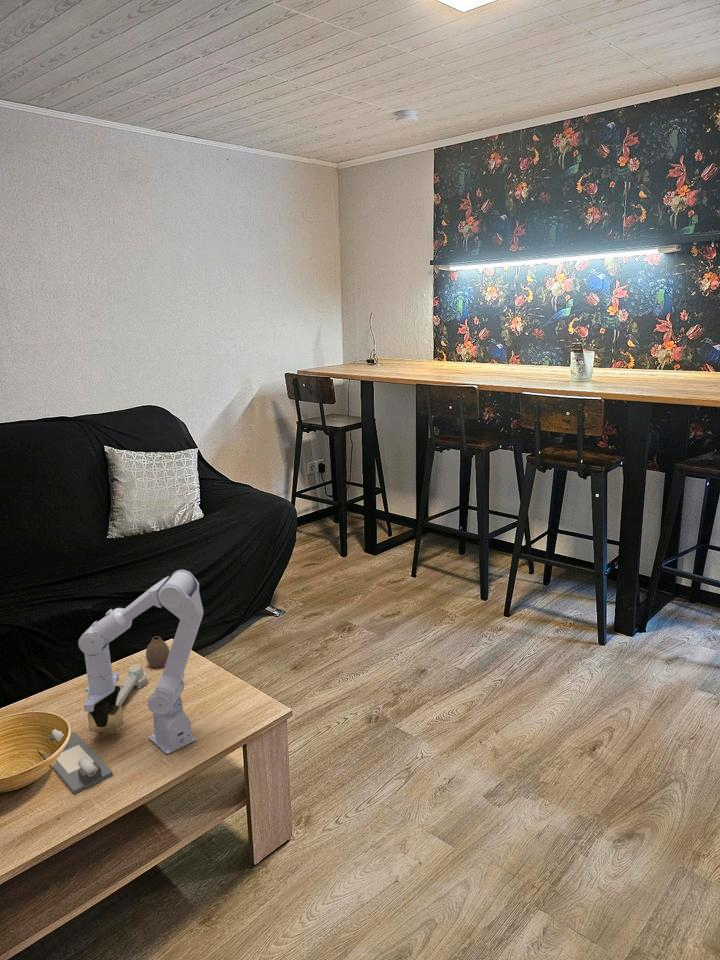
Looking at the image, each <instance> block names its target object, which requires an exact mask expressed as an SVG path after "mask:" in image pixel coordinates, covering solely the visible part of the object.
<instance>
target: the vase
mask: <svg viewBox="0 0 720 960" xmlns="http://www.w3.org/2000/svg"><path fill="white" fill-rule="evenodd" d="M169 652H170V648H169V645H168V644H167V643H166V642H165V641H164V640H163V639H162V638H161V637H160V636H154V637H152V639H151V641H150V643H149V644H148V645H147V647H146V650H145V658H146V661H147V663H148V664H149V665H150V666H151V667H153V668H157V669H158V668H162V667H165V665H166V661H167V658H168V655H169Z"/></svg>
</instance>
